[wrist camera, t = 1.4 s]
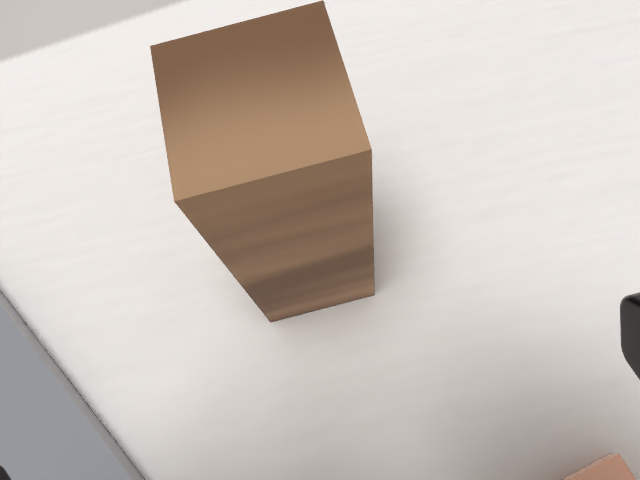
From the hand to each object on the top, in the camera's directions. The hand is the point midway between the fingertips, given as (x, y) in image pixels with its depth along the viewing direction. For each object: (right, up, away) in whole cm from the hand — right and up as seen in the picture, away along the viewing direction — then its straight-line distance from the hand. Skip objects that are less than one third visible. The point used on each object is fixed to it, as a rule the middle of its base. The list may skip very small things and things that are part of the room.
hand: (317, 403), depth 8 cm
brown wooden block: (0, +2, +14) cm, 15 cm away
